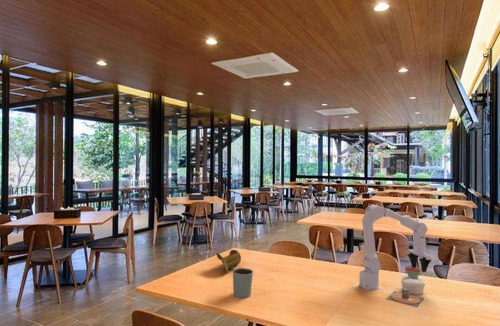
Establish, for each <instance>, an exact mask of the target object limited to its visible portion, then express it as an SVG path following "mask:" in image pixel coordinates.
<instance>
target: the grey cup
mask: <svg viewBox="0 0 500 326" xmlns="http://www.w3.org/2000/svg"><path fill="white" fill-rule="evenodd" d="M253 275H254V270H253V269H251V268H248V267H247V268H245V267H238V268H234V269H233V270H232V284H233V285H232V287H233V293H232V294H233V297H234V298H237V299H248V298H250V297H251V295H252V285H253V284H252V283H253Z"/></svg>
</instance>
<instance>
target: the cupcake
mask: <svg viewBox="0 0 500 326" xmlns="http://www.w3.org/2000/svg"><path fill="white" fill-rule="evenodd" d="M404 271H405V272H406V273H407V276H408V278H409V279H416V280H418V278H419V275H420V274H421V273H422V270H421V268H419V266H418V265H417V266H416V268H412V265H411V264H408V265H407V266H405V268H404Z"/></svg>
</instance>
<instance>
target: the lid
mask: <svg viewBox="0 0 500 326" xmlns="http://www.w3.org/2000/svg"><path fill="white" fill-rule="evenodd" d="M392 293H393V292H392ZM392 293H391V294H390V295H391V298H392V299H393V300H395V301H397V302H396V303H398V302H400V303H399V304H402V303H405V304H404V305H406V304H418V303H420V299H419V298H418V297H419V296H417V297H416V295H415V294H411V293H409V289H406V288H402V287H401V292H400V293H393V294H392Z"/></svg>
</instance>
